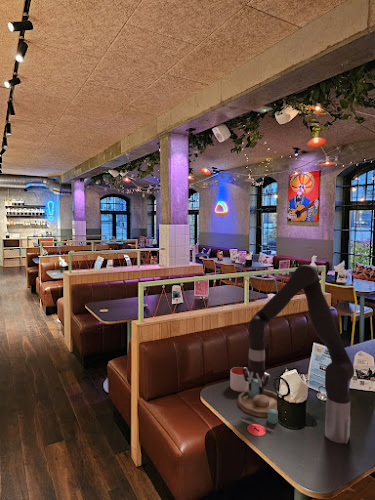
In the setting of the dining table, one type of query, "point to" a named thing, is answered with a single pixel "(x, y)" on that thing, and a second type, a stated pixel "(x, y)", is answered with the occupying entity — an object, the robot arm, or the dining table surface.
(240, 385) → the cup
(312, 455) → the dining table surface
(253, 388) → the bead
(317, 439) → the dining table surface
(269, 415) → the bead
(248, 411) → the tray
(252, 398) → the bead
